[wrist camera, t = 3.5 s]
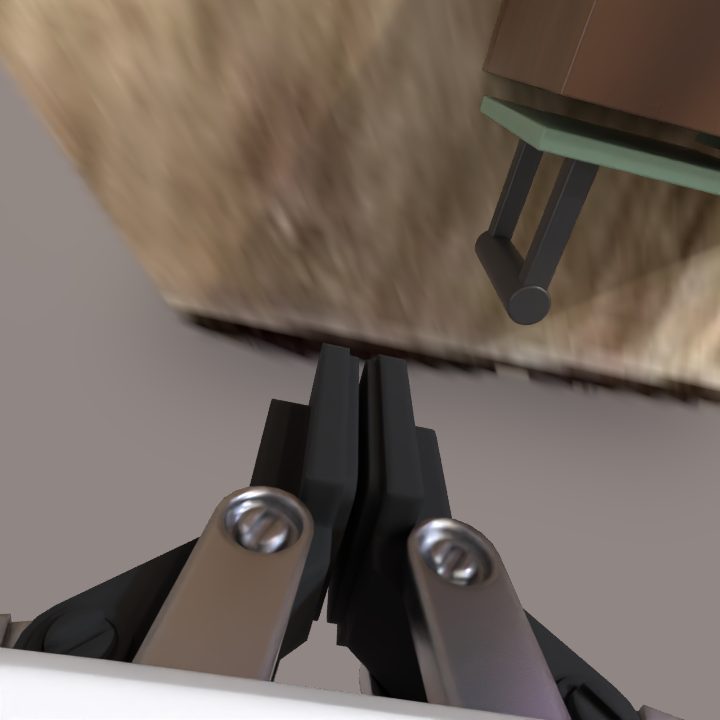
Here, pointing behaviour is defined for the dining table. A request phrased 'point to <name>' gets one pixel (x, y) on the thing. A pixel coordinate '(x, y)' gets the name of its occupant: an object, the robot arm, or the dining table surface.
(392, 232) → the dining table surface
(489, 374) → the dining table surface
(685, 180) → the sliding door
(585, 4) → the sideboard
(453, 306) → the dining table surface
